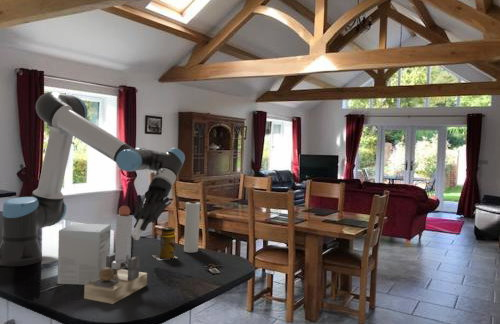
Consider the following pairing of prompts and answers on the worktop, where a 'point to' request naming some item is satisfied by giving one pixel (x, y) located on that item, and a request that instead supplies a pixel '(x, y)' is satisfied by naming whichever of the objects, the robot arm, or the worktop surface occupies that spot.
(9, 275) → the worktop surface
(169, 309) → the worktop surface
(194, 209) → the paper towel roll
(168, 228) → the condiment
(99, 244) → the supplement box
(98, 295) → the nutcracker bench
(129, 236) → the lever
